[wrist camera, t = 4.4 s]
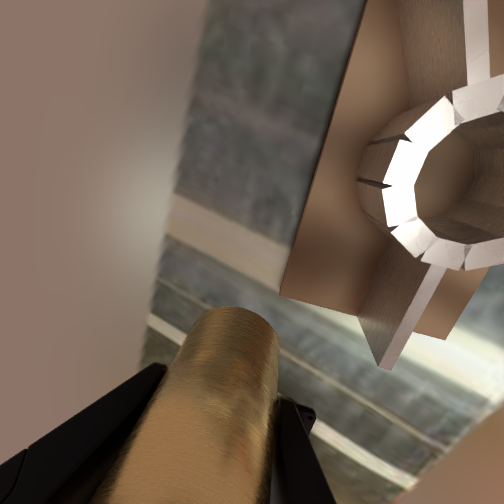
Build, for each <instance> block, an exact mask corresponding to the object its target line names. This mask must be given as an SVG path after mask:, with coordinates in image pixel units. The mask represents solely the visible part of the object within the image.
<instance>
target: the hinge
mask: <svg viewBox="0 0 504 504" xmlns="http://www.w3.org/2000/svg"><path fill="white" fill-rule="evenodd" d="M397 8H398V17H399V25H400V34H401V42H402V51H403V59H404V68H405V77H406V85H407V94H408V102H409V110H407V111H405V112H402V113H400V115H398V116H395V117H394V118H393V119H392V120H391V121H390V122H389V123H388V124H387V125H386V126H385V127H384V128H383V129H382V130H381V131H380V132H379V133H377V134H376V135H375V136H374V137H373V138H372V139H371V140H370V141H369V142H370V143H371V144H372V145H370V146H366V148H365V151H364V154H363V157H362V159H361V162H360V165H359V168H358V171H357V174H356V176H357V177H361V178H363V179H360V180H356V181H355V182H356V188H357V193H358V199H359V204H360V208H361V209H363V211H362V212H363V213H364V214H365V215H366V216H367V217H368V218H369V219H370V220H371V221H372V222H373V223H374V224H375V225H376V226H377V227H378V228H379V230H381V231H382V232H383V233H384V234H386V235H387V236H388V237H389V238H390V239H389V242H388V244H387V246H386V249H385V251H384V253H383V255H382V258H381V260H380V262H379V265H378V267H377V269H376V271H375V274H374V276H373V278H372V280H371V283H370V285H369V287H368V290H367V292H366V294H365V296H364V299H363V301H362V303H361V306H360V308H359V310H358V312H357V318H358V320H359V322H360V325H361V327H362V330H363V332H364V334H365V337H366V339H367V342H368V344H369V346H370V349H371V351H372V354H373V356H374V358H375V361H376V363H377V366H378V367H380V368H384V369H387V370H392V368H393V366H394V364H395V362H396V361H397V359H398V357H399V355H400V353H401V351H402V350H403V348H404V346H405V344H406V342H407V340H408V339H409V337H410V335H411V333H412V331H413V330H414V328H415V326H416V324H417V322H418V320H419V319H420V317H421V315H422V313H423V311H424V309H425V308H426V306H427V304H428V302H429V300H430V299H431V297H432V295H433V293H434V291H435V289H436V288H437V286H438V284H439V282H440V280H441V278H442V277H443V275H444V273H445V271H446V269H447V268H450V269H454V270H458V271H459V269H460V268H462V269H463V270H465V271H467V270H472V269H478V268H483V267H488V266H493V265H498V264H504V74H502V75H499V76H496V77H493V78H490V62H489V33H488V4H487V0H397ZM451 131H452V132H456V133H458V134H459V135H460V137H461V138H462V139H463V140H464V141H465V143H466V144H467V145H468V146H469V147H470V148H471V150H472V153H473V171H474V175H473V177H472V179H471V181H470V183H469V185H468V187H467V189H466V191H465V193H464V195H463V197H462V198H461V199H460V200H459V201H457V202H456V203H455V204H453V205H452V206H451V207H450V208H448V209H447V210H446V211H444V212H443V213H442V214H440V215H436V216H432V217H428V218H423V219H419V218H418V216H417V210H416V202H415V194H414V186H413V185H414V183H415V181H416V179H417V176H418V174H419V172H420V169H421V167H422V165H423V163H424V160H425V158H426V156H427V153H428V151H430V150H431V149H432V148H433V147H434V146H435V145H436V144H438V143H439V142H440V141H441V140H442V139H443V138H444V137H446V136H447V135H448V134H449V133H450V132H451Z"/></svg>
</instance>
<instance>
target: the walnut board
mask: <svg viewBox="0 0 504 504" xmlns="http://www.w3.org/2000/svg"><path fill="white" fill-rule="evenodd" d="M487 4H488V33H489V62H490V78H493V77H496V76H499V75H502V74H504V0H487ZM407 110H409V102H408V94H407V85H406V77H405V68H404V59H403V51H402V42H401V34H400V25H399V17H398V8H397V0H366V3H365V6H364V9H363V13H362V16H361V20H360V23H359V26H358V30H357V33H356V36H355V40H354V43H353V46H352V50H351V53H350V56H349V60H348V63H347V66H346V70H345V73H344V76H343V80H342V83H341V87H340V90H339V93H338V97H337V100H336V103H335V107H334V110H333V113H332V117H331V120H330V123H329V127H328V130H327V133H326V137H325V140H324V143H323V147H322V150H321V154H320V157H319V160H318V164H317V167H316V170H315V174H314V177H313V180H312V184H311V187H310V190H309V194H308V197H307V200H306V204H305V207H304V210H303V214H302V217H301V221H300V224H299V227H298V231H297V234H296V237H295V241H294V244H293V247H292V251H291V254H290V257H289V261H288V264H287V267H286V271H285V274H284V277H283V281H282V284H281V288H280V296H284V297H287V298H291V299H295V300H298V301H302V302H306V303H309V304H313V305H317V306H320V307H324V308H328V309H332V310H335V311H339V312H343V313H346V314H350V315H354V316H357V312H358V310H359V308H360V306H361V303H362V301H363V299H364V296H365V294H366V292H367V290H368V287H369V285H370V283H371V280H372V278H373V276H374V274H375V271H376V269H377V267H378V265H379V262H380V260H381V258H382V255H383V253H384V251H385V249H386V246H387V244H388V242H389V239H390V238H389V237H388V236H387V235H386V234H384V233H383V232H382V231H381V230H379V228H378V227H377V226H376V225H375V224H374V223H373V222H372V221H371V220H370V219H369V218H368V217H367V216H366V215H365V214H364V213H363V212H362V211H363V209H361V208H360V204H359V199H358V193H357V188H356V182H355V181H356V180H360V179H363V178H361V177H357V176H356V174H357V171H358V168H359V165H360V162H361V159H362V157H363V154H364V151H365V148H366V146H370V145H372V144H371V143H370V142H369V141H370V140H371V139H372V138H373V137H374V136H375V135H376V134H377V133H379V132H380V131H381V130H382V129H383V128H384V127H385V126H386V125H387V124H388V123H389V122H390V121H391V120H392V119H393V118H394V117H395V116H398V115H400V113H402V112H405V111H407ZM473 175H474V171H473V153H472V150H471V148H470V147H469V146H468V145H467V144H466V143H465V141H464V140H463V139H462V138H461V137H460V135H459V134H458V133H456V132H452V131H451V132H450V133H449V134H448V135H447V136H446V137H444V138H443V139H442V140H441V141H440V142H439V143H438V144H436V145H435V146H434V147H433V148H432V149H431V150H430V151H428V153H427V156H426V158H425V160H424V163H423V165H422V167H421V169H420V172H419V174H418V176H417V179H416V181H415V183H414V185H413V186H414V194H415V202H416V210H417V216H418V218H419V219H423V218H428V217H432V216H436V215H440V214H442V213H443V212H444V211H446V210H447V209H448V208H450V207H451V206H452V205H453V204H455V203H456V202H457V201H459V200H460V199H461V198H462V197H463V195H464V193H465V191H466V189H467V187H468V185H469V183H470V181H471V179H472V177H473ZM489 268H490V266H488V267H483V268H478V269H472V270H467V271H465V270H463V269H462V268H460V269H459V271H458V270H454V269H450V268H447V269H446V271H445V273H444V275H443V277H442V278H441V280H440V282H439V284H438V286H437V288H436V289H435V291H434V293H433V295H432V297H431V299H430V300H429V302H428V304H427V306H426V308H425V309H424V311H423V313H422V315H421V317H420V319H419V320H418V322H417V324H416V326H415V328H414V330H413V332H416V333H420V334H424V335H427V336H431V337H435V338H438V339H442V340H445V339H446V338H447V336H448V335H449V333H450V331H451V330H452V328H453V326H454V325H455V323H456V322H457V320H458V318H459V317H460V315H461V313H462V312H463V310H464V309H465V307H466V305H467V304H468V302H469V300H470V299H471V297H472V295H473V294H474V292H475V291H476V289H477V287H478V286H479V284H480V282H481V281H482V279H483V278H484V276H485V274H486V273H487V271H488V269H489Z"/></svg>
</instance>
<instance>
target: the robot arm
mask: <svg viewBox="0 0 504 504" xmlns="http://www.w3.org/2000/svg"><path fill="white" fill-rule="evenodd" d="M166 371H167V365H165V364H162V363H158V362H154V363H152V364H151V365H149V366H148V367H146V368H145V369H143V370H142V371H140V372H139V373H137V374H136V375H134V376H133V377H131V378H130V379H128V380H127V381H125V382H124V383H122V384H121V385H119V386H118V387H116V388H115V389H113V390H112V391H110V392H109V393H107V394H106V395H104V396H103V397H101V398H100V399H98V400H97V401H95V402H94V403H92V404H91V405H89V406H88V407H86V408H85V409H83V410H82V411H81V412H79V413H77V414H76V415H74V416H73V417H72V418H70V419H68V420H67V421H66V422H64V423H63V424H61V425H60V426H58V427H57V428H55V429H54V430H52V431H51V432H49V433H48V434H46V435H45V436H43V437H42V438H40V439H39V440H37V441H36V442H34V443H33V444H31V445H30V446H29V447H28V449H24V450H22V451H21V452H19V453H18V454H16V455H15V456H13V457H12V458H10V459H9V460H7V461H6V462H4V463H3V464H1V465H0V504H89V502H90V500H91V499H92V497H93V495H94V494H95V492H96V490H97V489H98V487H99V485H100V483H101V482H102V480H103V478H104V477H105V475H106V473H107V472H108V470H109V468H110V466H111V465H112V463H113V461H114V460H115V458H116V456H117V454H118V453H119V451H120V449H121V448H122V446H123V444H124V443H125V441H126V439H127V437H128V436H129V434H130V432H131V431H132V429H133V427H134V426H135V424H136V422H137V420H138V419H139V417H140V415H141V414H142V412H143V410H144V409H145V407H146V405H147V403H148V402H149V400H150V398H151V397H152V395H153V393H154V392H155V390H156V388H157V386H158V385H159V383H160V381H161V380H162V378H163V376H164V375H165V373H166ZM315 420H316V413H315V412H314V411H313V410H310V409H307V408H303V407H300V406H297V405H295V403H294V402H293V401H292V400H290V399H287V398H283V397H281V398H280V399H279V400H276V416H275V432H274V447H273V463H272V479H271V495H270V504H337V503H336V501H335V498H334V496H333V493H332V491H331V489H330V486H329V484H328V482H327V479H326V477H325V474H324V472H323V470H322V467H321V465H320V463H319V460H318V458H317V455H316V453H315V451H314V448H313V446H312V444H311V441H310V439H309V433H310V431H311V429H312V427H313V425H314V422H315Z"/></svg>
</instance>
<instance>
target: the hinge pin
mask: <svg viewBox="0 0 504 504" xmlns="http://www.w3.org/2000/svg"><path fill="white" fill-rule="evenodd" d="M279 353H280V346H279V341H278V337H277V335H276V333H275V331H274V330H273V328H272V327H271V326H270V324H269V323H268V322H267V321H266V320H265V319H263V318H262V317H261V316H259V315H258V314H256V313H254V312H252V311H250V310H247V309H244V308H239V307H232V306H225V307H218V308H215V309H212V310H209V311H207V312H206V313H204V314H203V315H201V316H200V317H199V318H198V319H197V321H196V322H195V324H194V325H193V327H192V329H191V330H190V332H189V334H188V335H187V337H186V339H185V341H184V342H183V344H182V346H181V347H180V349H179V351H178V352H177V354H176V356H175V358H174V359H173V361H172V363H171V364H170V366H169V368H168V369H167V371H166V373H165V375H164V376H163V378H162V380H161V381H160V383H159V385H158V386H157V388H156V390H155V392H154V393H153V395H152V397H151V398H150V400H149V402H148V403H147V405H146V407H145V409H144V410H143V412H142V414H141V415H140V417H139V419H138V420H137V422H136V424H135V426H134V427H133V429H132V431H131V432H130V434H129V436H128V437H127V439H126V441H125V443H124V444H123V446H122V448H121V449H120V451H119V453H118V454H117V456H116V458H115V460H114V461H113V463H112V465H111V466H110V468H109V470H108V472H107V473H106V475H105V477H104V478H103V480H102V482H101V483H100V485H99V487H98V489H97V490H96V492H95V494H94V495H93V497H92V499H91V500H90V502H89V504H270V495H271V479H272V463H273V447H274V432H275V416H276V400H277V384H278V369H279Z"/></svg>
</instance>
